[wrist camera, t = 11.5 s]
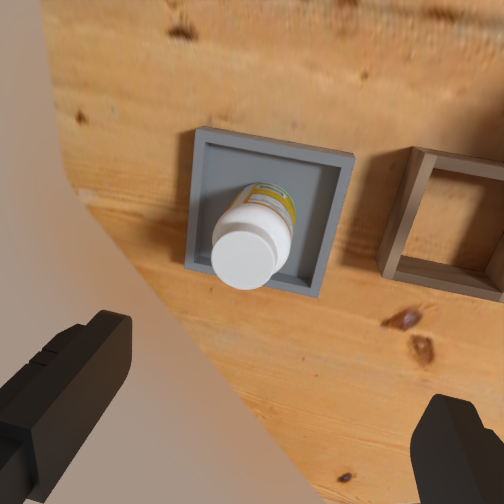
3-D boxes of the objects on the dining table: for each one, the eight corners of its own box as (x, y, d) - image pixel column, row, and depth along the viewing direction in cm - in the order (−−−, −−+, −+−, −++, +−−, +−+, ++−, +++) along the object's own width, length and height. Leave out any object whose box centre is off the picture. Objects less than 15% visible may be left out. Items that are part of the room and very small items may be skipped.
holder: (413, 146, 27) (425, 153, 24) (546, 170, 27) (576, 180, 23) (375, 258, 32) (381, 277, 28) (489, 282, 31) (509, 304, 28)
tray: (204, 126, 29) (195, 128, 27) (352, 153, 28) (355, 158, 26) (192, 257, 35) (184, 268, 32) (317, 284, 34) (317, 298, 31)
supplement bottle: (248, 249, 32) (221, 309, 24) (223, 194, 31) (184, 236, 22) (305, 231, 31) (299, 287, 22) (282, 171, 29) (266, 207, 20)
